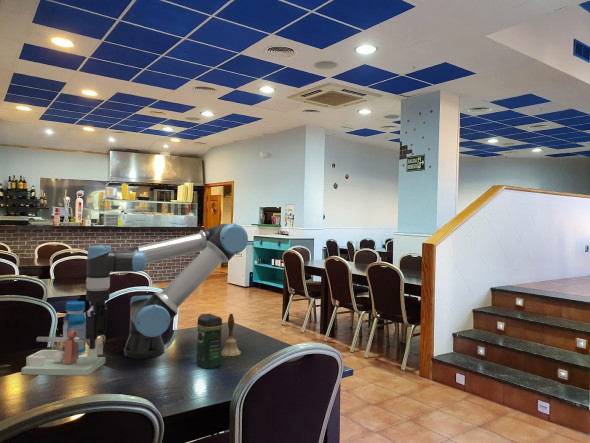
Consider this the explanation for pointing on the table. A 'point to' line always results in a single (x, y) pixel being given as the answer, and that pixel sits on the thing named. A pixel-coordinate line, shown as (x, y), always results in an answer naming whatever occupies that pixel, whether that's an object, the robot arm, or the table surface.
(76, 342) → the player rod
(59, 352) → the ball
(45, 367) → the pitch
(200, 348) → the coffee jar
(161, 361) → the table surface
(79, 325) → the beverage bottle
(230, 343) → the hand bell
